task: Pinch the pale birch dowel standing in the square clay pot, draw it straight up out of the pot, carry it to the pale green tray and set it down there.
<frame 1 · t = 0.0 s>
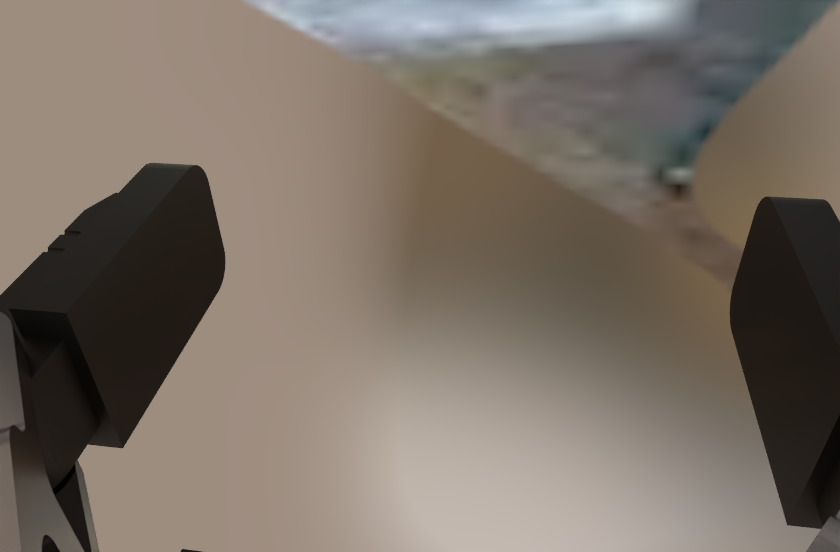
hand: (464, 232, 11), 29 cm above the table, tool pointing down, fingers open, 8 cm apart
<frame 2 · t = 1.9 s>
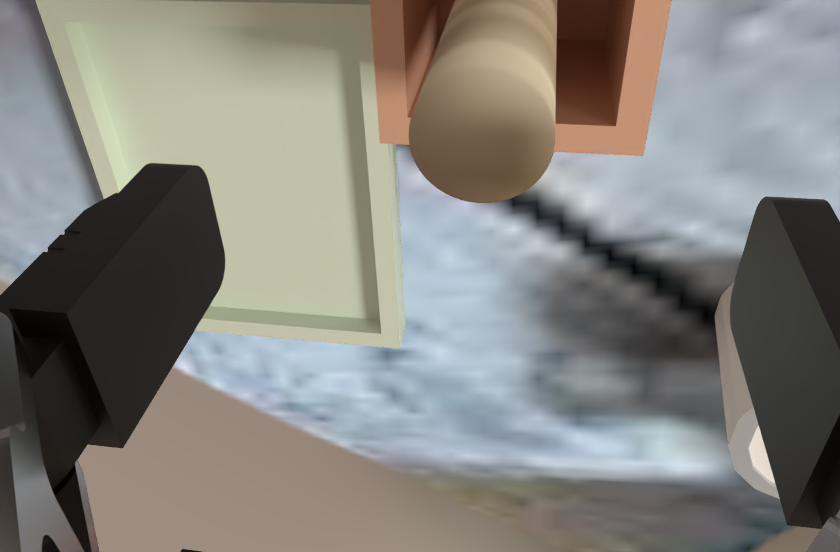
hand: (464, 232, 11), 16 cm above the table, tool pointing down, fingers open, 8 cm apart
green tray: (254, 177, 29), on the table
beige cylinder: (786, 309, 30), on the table
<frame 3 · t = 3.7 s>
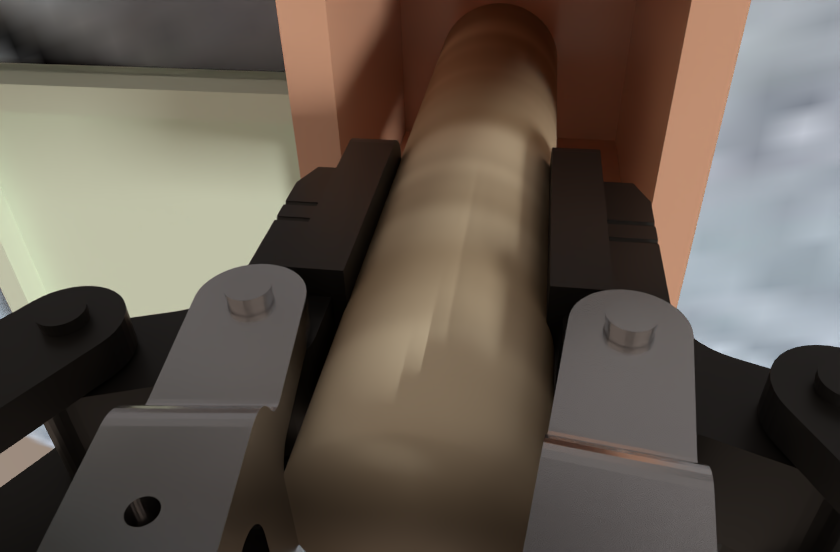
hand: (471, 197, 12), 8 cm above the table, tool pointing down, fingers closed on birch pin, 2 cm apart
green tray: (190, 281, 25), on the table
square clay pot: (515, 20, 18), on the table
birch pin: (498, 62, 16), point 2 cm above the table, touching gripper
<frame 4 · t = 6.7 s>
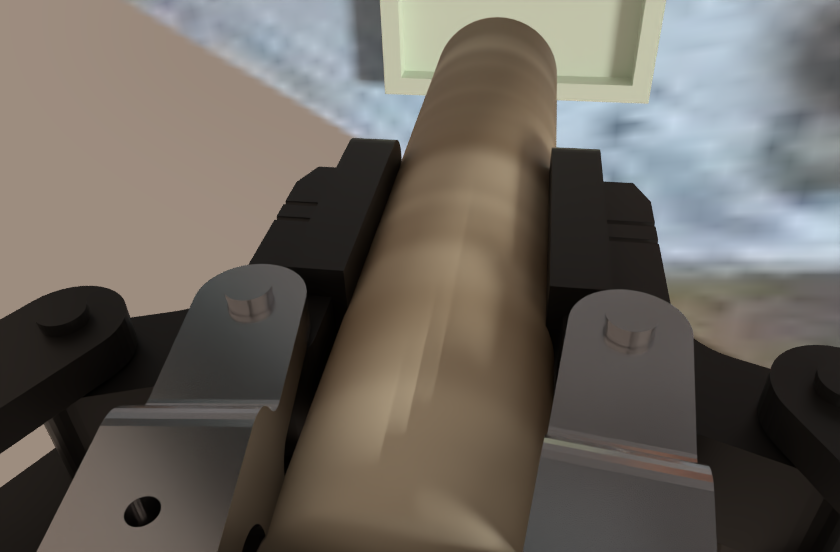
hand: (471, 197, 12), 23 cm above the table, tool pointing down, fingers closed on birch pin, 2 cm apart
birch pin: (496, 77, 16), point 18 cm above the table, touching gripper
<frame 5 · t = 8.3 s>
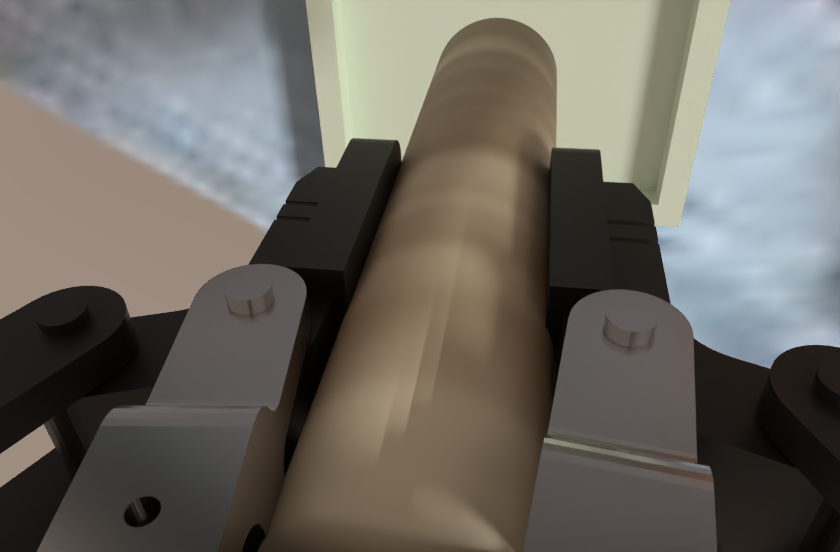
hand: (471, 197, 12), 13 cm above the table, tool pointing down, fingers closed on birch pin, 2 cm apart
birch pin: (496, 78, 16), point 8 cm above the table, touching gripper
when the fingers open (9 cm above the table, at t = 9.8 s): birch pin drops 4 cm, resting on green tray.
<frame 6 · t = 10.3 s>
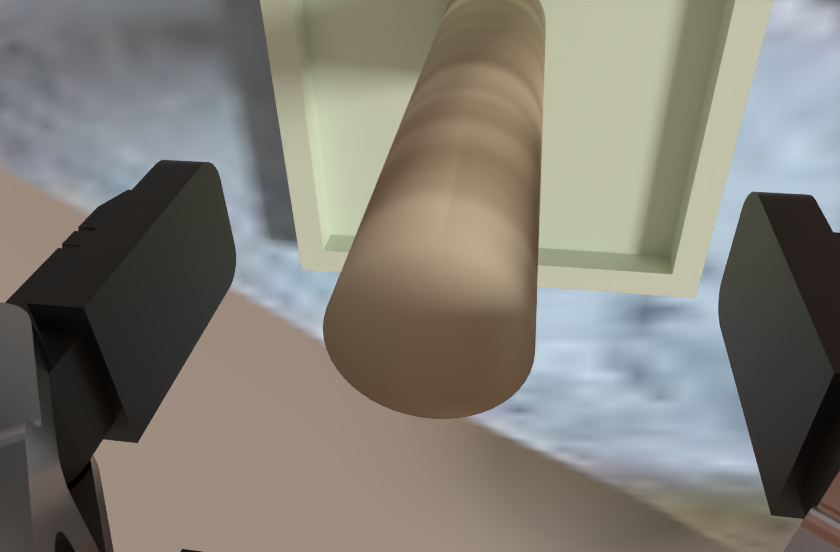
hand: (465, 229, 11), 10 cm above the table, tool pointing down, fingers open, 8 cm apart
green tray: (505, 18, 19), on the table
birch pin: (493, 28, 18), point 1 cm above the table, touching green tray
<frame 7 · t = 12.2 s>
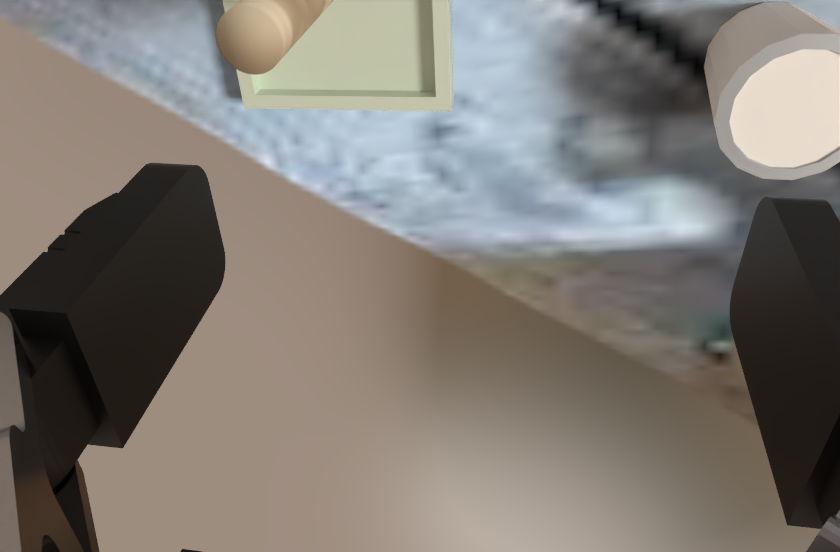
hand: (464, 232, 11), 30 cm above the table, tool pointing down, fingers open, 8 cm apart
beige cylinder: (761, 56, 37), on the table
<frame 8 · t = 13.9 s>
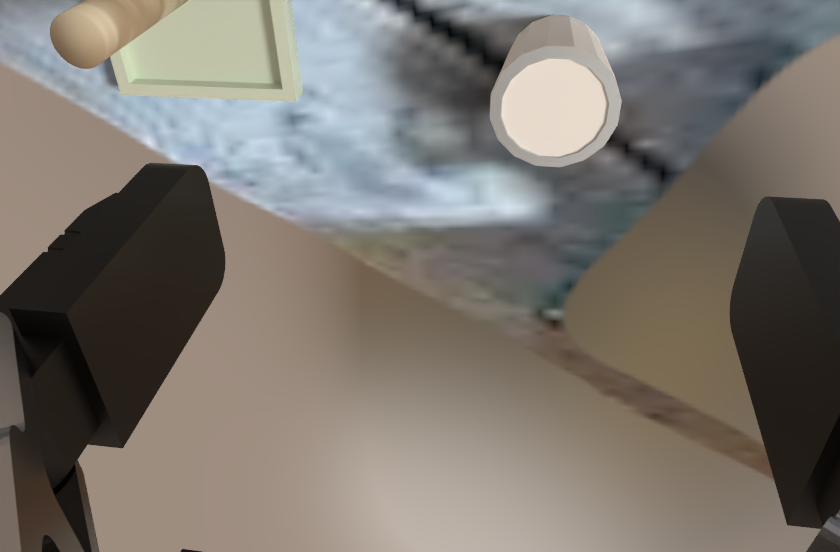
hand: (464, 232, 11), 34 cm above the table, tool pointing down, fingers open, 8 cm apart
beige cylinder: (554, 61, 44), on the table
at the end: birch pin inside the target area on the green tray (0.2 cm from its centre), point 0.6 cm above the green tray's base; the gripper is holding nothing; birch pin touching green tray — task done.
